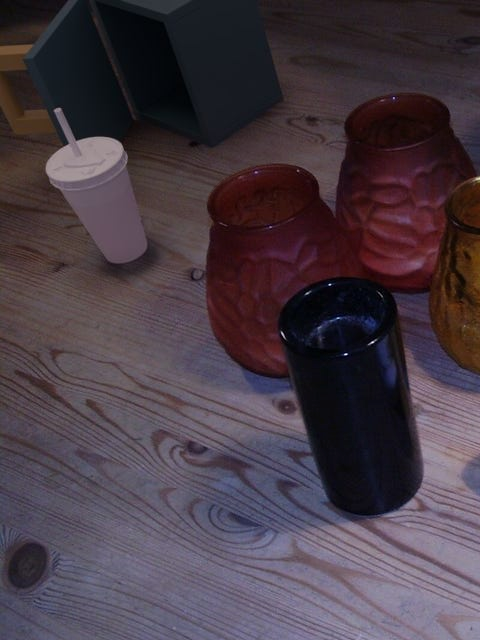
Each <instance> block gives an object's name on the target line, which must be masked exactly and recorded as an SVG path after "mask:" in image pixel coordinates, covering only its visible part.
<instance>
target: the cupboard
mask: <svg viewBox="0 0 480 640" xmlns="http://www.w3.org/2000/svg"><path fill="white" fill-rule="evenodd" d="M88 1H89V4H90V6H91V9H92V11H93V14H94V17H95V19H96V21H97V24H98V26H99V29H100V31H101V34H102V36H103V39H104V41H105V44H106V47H107V49H108V51H109V55H110V56H111V59H112V61H113V64H114V66H115V69H116V71H117V74H118V77H119V79H120V81H121V84H122V86H123V87H122V88H123V89H124V92H125V94H126V97H127V99H128V101H129V104H130V106H131V110H132V112H133V114H134V116H135V119H137V120H140V121H144V122H146V123H148V124H151V125H153V126H156V127H157V128H158V127H159V128H161V129H164V130H166V131H168V132H171V133H173V134H176V135H179V136H181V137H184V138H186V139H189V140H191V141H194V142H197V143H199V144H202V145H203V146H206V147H208V148H211V149H215V148H216V147H217V146H218V145H220V144H222V143H223V142H225V141H226V140H227V139H230V137H232V136H233V135H234V134H236V133H237V132H239V131H240V130H242V129H243V128H245V127H246V126H248V125H249V124H250V123H252V122H254V121H255V120H256V119H258V118H259V117H261V116H262V115H263V114H265V113H266V112H268V111H269V110H271V109H272V108H274V107H275V106H276V105H278V104H279V103H281V102H283V101H284V98H285V97H284V94H283V91H282V88H281V84H280V81H279V77H278V74H277V73H278V72H277V70H276V66H275V62H274V58H273V55H272V51H271V48H270V45H269V40H268V37H267V34H266V29H265V26H264V22H263V19H262V15H261V11H260V7H259V4H258V1H257V0H88Z"/></svg>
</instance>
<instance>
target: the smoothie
mask: <svg viewBox="0 0 480 640" xmlns="http://www.w3.org/2000/svg"><path fill="white" fill-rule="evenodd" d="M54 112H55V114H56V116H57V118H58V121H59V123H60V125H61V127H62V129H63V131H64V133H65V136H66V138H67V140H68V142H69V144H68V145H66V146H63V147H61V148H60V149H58V150H56V151H55V152H54V153H53V154H52V155H51V156H50V157H49V159H48V160H47V161H46V164H45V173H46V175H47V176H48V177H47V178H48V179H49V182H50V184H51V185H52V186H53V187H54V188H56V189H59V190H60V192H61V194H62V195H63V197H64V199H65V200H66V202H68V205H70V207H71V209H72V210H73V211H74V213H75V214H76V216H77V218H78V219H79V221H80V222H81V223H82V225H83V227H84V228H85V229H86V231H87V232H88V234H89V235H90V237H91V238H92V240H93V241H94V243H95V245H96V246H97V247H98V249H99V250H100V252H101V253H102V254H103V257H104V258H105V259H106V261H108V262H110V263H112V264H125V263H129V262H132V261H135V260H136V259H139V258H140V257H141V256H143V254H145V252H146V251H147V249H148V241H147V236H146V234H145V230H144V226H143V223H142V219H141V215H140V211H139V208H138V204H137V200H136V196H135V193H134V190H133V186H132V182H131V178H130V174H129V171H128V168H127V164H128V159H129V155H128V154H127V151H126V150H125V149H124V146H123V144H122V142H121V143H120V142H119V141H117V140H115V139H112V138H108V137H91V138H86V139H81V140H78V141H76V140H75V138H74V136H73V134H72V131H71V129H70V127H69V125H68V123H67V121H66V118H65V116H64V114H63V112H62V110H61V108H57V109H55V110H54Z"/></svg>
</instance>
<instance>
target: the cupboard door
mask: <svg viewBox="0 0 480 640" xmlns="http://www.w3.org/2000/svg"><path fill="white" fill-rule="evenodd" d="M14 71H27V72H28V74H29V76H30V78H31V81H32V82H33V84H34V85H33V86H34V87H35V89H36V91H37V94H38V95H39V97H40V99H41V102H42V104H43V106H44V109H26V110H25V109H23V107H22V105H21V103H20V101H19V99H18V97H17V95H16V93H15V91H14V89H13V86H12V85H11V82H10V81H9V78H8V76H7V75H6V73H5V72H14ZM0 108H1V110H2V112H3V114H4V116H5V118H6V120H7V122H8V124H9V125H10V127H11V129H12V131H13V133H14V134H15V135H17V136H18V135H19V136H20V135H21V136H22V135H40V134H41V135H42V134H57V136H58V138H59V140H60V142H61V145H62V146H63V147H64V146H66V145H68V144H69V142H68V140H67V138H66V136H65V133H64V131H63V129H62V127H61V125H60V123H59V121H58V118H57V116H56V114H55V112H54V110H55V109H57V108H61V110H62V112H63V114H64V116H65V118H66V121H67V123H68V125H69V127H70V129H71V131H72V134H73V136H74V138H75V140H76V141H78V140H81V139H86V138H91V137H108V138H112V139H115V140H117V141H119V142H120V143H121V144H122V142H123V140H124V138H125V137H126V135H127V133H128V131H129V130H130V129H131V126H132V125H133V123H134V121H135V119H134V117H133V115H132V111H131V109H130V107H129V104H128V102H127V99H126V97H125V95H124V92H123V89H122V87H121V84H120V82H119V80H118V76H117V75H116V72H115V70H114V67H113V64H112V62H111V60H110V58H109V55H108V52H107V49H106V47H105V45H104V42H103V40H102V37H101V35H100V32H99V30H98V27H97V25H96V22H95V20H94V17H93V15H92V13H91V10H90V7H89V5H88V3H87V0H67V2H65V4H64V5H63V6H62V8H61V9H60V10H59V12H58V13H57V14H56V16H55V17H53V19H52V21H51V22H50V23H49V24H48V25H47V27H46V28H45V30H43V32H42V33H41V34H40V36H39V37H38V38H37V39H36V41H35V42H34V43H31V44H16V45H15V44H14V45H0Z"/></svg>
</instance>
